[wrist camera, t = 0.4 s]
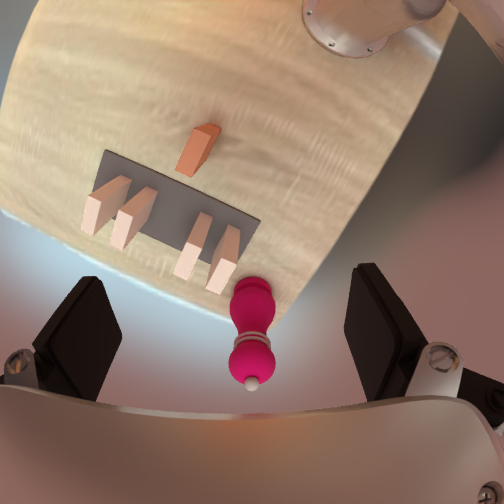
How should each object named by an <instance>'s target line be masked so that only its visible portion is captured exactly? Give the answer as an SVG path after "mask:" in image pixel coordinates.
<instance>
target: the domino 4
mask: <svg viewBox="0 0 504 504" xmlns="http://www.w3.org/2000/svg"><path fill="white" fill-rule="evenodd" d="M212 219H213V217H212V216H210V215H208V214H205V213H203V212H200V214H199V216H198V218H197V220H196V222H195V225H194V227H193V229H192V231H191V233H190V235H189V237H188V240H187V242H186V244H185V246H184V249H183V251H182V253H181V255H180V258H179V260H178V262H177V264H176V267H175V269H174V271H173V275H175V276H178V277H180V278H182V279H184V280H188V277H189V275H190V273H191V271H192V269H193V267H194V265H195V263H196V261H197V259H198V257H199V254H200V252H201V250H202V248H203V245H204V242H205V239H206V236H207V233H208V230H209V227H210V225H211V222H212Z"/></svg>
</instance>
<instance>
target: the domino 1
mask: <svg viewBox="0 0 504 504" xmlns="http://www.w3.org/2000/svg"><path fill="white" fill-rule="evenodd" d="M131 181H132V179H129V178H127V177H125V176H123V175H120V176H118V177H116V178H115V179H113V180H111V181H110V182H108V183H107V184H105V185H103V186H102V187H100V188H99V189H97V190H96V191H94V192H93V193H91V194H90V195H88V198H87V202H86V206H85V211H84V215H83V220H82V225H81V230H82V231H84V232H86V233H88V234H90V235H92V236H93V235H95V234H96V233H97V232H98V231H99V230H100V229H101V228H102V227H103V226H104V225H105V224H106V223H107V222H108V221H109V220H110V219H111V218H112V217H114V216H115V215H116V214H117V213H118V210H119V209H120V208H121V207H123V205H124V202H125V199H126V196H127V193H128V190H129V187H130V184H131Z"/></svg>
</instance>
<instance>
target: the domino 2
mask: <svg viewBox="0 0 504 504" xmlns="http://www.w3.org/2000/svg"><path fill="white" fill-rule="evenodd" d="M157 193H158V191H156V190H154V189H151V188H149V187H147V186H146V187H145V188H144V189H142V190H141V191H140V192H139V193H138V194H136V195H135V196H134V197H133V198H132V199H131V200H129V201H128V202H127V203H126V204H125V205H124V206H123V207H121V208H120V209H119V210H118V214H117V217H116V220H115V224H114V228H113V231H112V235H111V239H110V242H109V244H110V245H112V246H114V247H116V248H118V249H120V250H122V251H123V250H124V248H125V247H126V246H127V244H128V243H129V242H130V241H131V239H132V238H133V237H134V236H135V235H136V233H137V232H138V231H139V230H140V228H141V227H142V226H143V225H144V224H145V222H146V221H147V220H148V217H149V214H150V212H151V209H152V206H153V204H154V201H155V198H156V196H157Z"/></svg>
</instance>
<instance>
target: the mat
mask: <svg viewBox="0 0 504 504" xmlns="http://www.w3.org/2000/svg"><path fill="white" fill-rule="evenodd" d="M120 175H123V176H125V177H127V178H129V179H132V181H131V184H130V187H129V190H128V193H127V196H126V199H125V202H124V205H125V204H126V203H127V202H128V201H129V200H131V199H132V198H133V197H134V196H135V195H136V194H138V193H139V192H140V191H141V190H142V189H144V188H145V187H146V186H147V187H149V188H151V189H154V190H156V191H158V193H157V196H156V198H155V201H154V204H153V206H152V209H151V212H150V214H149V217H148V220H147V221H146V222H145V224H144V225H143V226H142V227H141V228H140V230H139V232H141V233H143V234H146V235H148V236H150V237H152V238H154V239H156V240H158V241H160V242H163V243H165V244H167V245H169V246H171V247H173V248H176V249H178V250H180V251H183V249H184V246H185V244H186V242H187V240H188V237H189V235H190V233H191V231H192V229H193V227H194V225H195V222H196V220H197V218H198V216H199V214H200V212H203V213H205V214H208V215H210V216H212V217H213V219H212V222H211V225H210V227H209V230H208V233H207V236H206V239H205V242H204V245H203V248H202V250H201V252H200V254H199V257H198V259H200V260H202V261H204V262H206V263H209V264H211V263H212V259H213V255H214V251H215V249H216V247H217V245H218V243H219V241H220V239H221V238H222V236H223V234H224V232H225V230H226V228H227V226H228V224H229V225H231V226H233V227H235V228H237V229H239V230H241V231H240V241H239V251H238V260H239V258H240V257H241V255H242V253H243V252H244V250H245V248H246V246H247V245H248V243H249V241H250V239H251V238H252V236H253V234H254V233H255V231H256V229H257V227H258V226H259V224H260V222H261V221H260V220H258V219H256V218H254V217H252V216H250V215H248V214H246V213H244V212H242V211H240V210H238V209H236V208H234V207H232V206H230V205H227V204H225V203H223V202H221V201H219V200H217V199H215V198H213V197H211V196H208V195H206V194H204V193H202V192H200V191H198V190H196V189H194V188H191V187H189V186H187V185H185V184H183V183H181V182H178V181H176V180H174V179H172V178H170V177H167V176H165V175H163V174H161V173H159V172H156V171H154V170H152V169H150V168H147V167H145V166H143V165H141V164H138V163H136V162H134V161H132V160H129V159H127V158H125V157H123V156H120V155H118V154H116V153H113V152H111V151H109V150H104V153H103V156H102V159H101V163H100V166H99V169H98V173H97V176H96V180H95V183H94V187H93V191H92V193H93V192H94V191H96V190H97V189H99V188H100V187H102V186H103V185H105V184H107V183H108V182H110V181H111V180H113V179H115V178H116V177H118V176H120ZM124 205H123V206H124ZM117 214H118V213H117ZM117 214H116V215H115V216H114V217H112V219H114V220H116V217H117ZM237 262H238V261H237Z"/></svg>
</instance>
